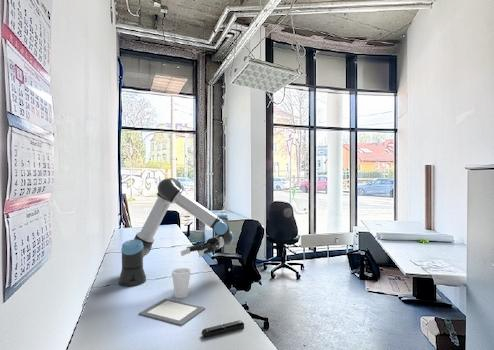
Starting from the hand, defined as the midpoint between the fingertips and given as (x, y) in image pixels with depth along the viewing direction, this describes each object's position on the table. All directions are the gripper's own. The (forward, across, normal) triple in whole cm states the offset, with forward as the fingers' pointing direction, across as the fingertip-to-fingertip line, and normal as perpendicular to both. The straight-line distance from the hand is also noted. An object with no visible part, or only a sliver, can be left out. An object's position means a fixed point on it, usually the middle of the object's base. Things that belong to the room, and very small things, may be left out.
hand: (190, 254), depth 174 cm
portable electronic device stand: (+27, -41, -23) cm, 54 cm away
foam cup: (+10, 0, -19) cm, 22 cm away
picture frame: (+26, -10, -19) cm, 34 cm away
